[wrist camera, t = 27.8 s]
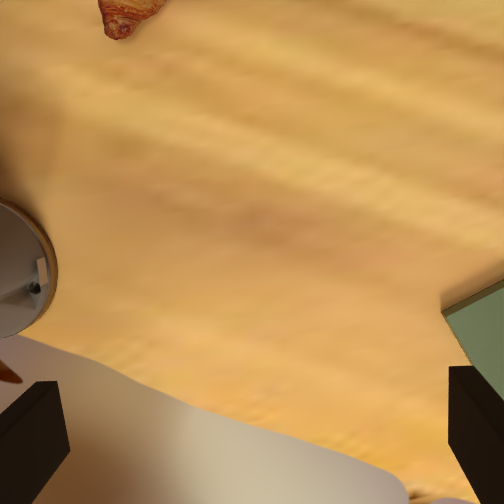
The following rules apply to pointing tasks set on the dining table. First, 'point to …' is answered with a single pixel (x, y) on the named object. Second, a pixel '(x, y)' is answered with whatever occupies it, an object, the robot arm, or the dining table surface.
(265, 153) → the dining table surface
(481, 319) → the corner board
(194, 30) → the dining table surface
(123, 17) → the croissant
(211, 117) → the dining table surface
